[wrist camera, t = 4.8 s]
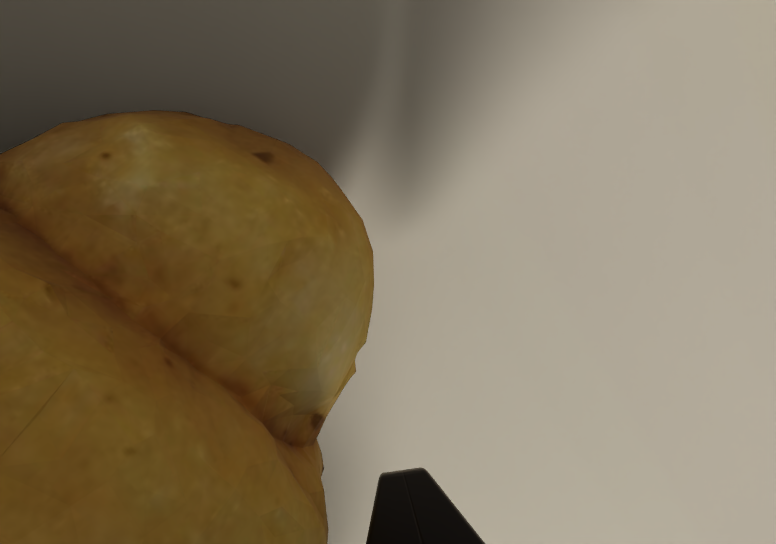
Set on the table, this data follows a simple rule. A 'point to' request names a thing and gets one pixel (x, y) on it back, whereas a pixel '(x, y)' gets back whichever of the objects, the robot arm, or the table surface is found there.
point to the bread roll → (171, 332)
